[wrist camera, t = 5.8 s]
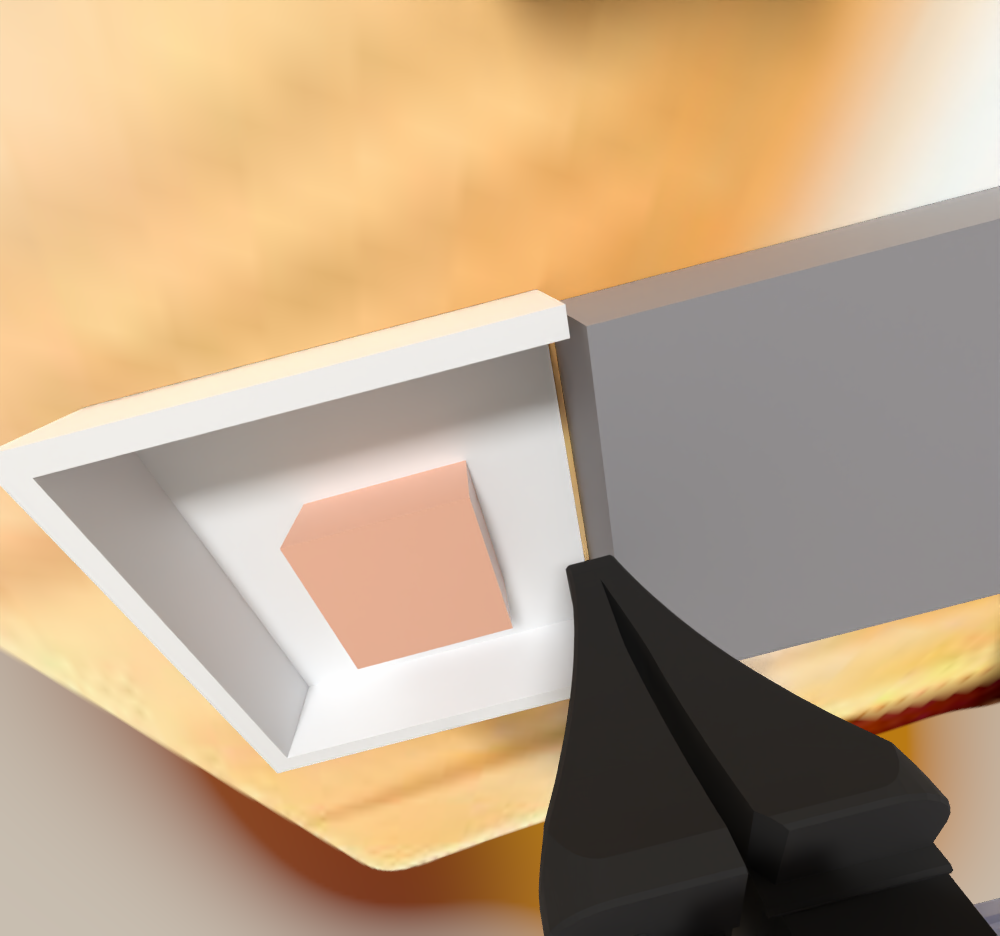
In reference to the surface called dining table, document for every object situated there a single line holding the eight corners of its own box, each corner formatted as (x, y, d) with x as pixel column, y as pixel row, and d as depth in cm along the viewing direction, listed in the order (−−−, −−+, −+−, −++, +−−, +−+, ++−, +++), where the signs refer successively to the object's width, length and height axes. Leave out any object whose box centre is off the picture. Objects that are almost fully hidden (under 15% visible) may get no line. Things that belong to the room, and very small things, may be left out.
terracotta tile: (357, 669, 16) (368, 616, 18) (512, 628, 16) (504, 580, 18) (279, 549, 13) (303, 504, 15) (469, 497, 13) (465, 460, 15)
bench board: (926, 525, 20) (1029, 586, 16) (597, 609, 20) (630, 688, 16) (1047, 173, 13) (1267, 149, 10) (548, 303, 13) (586, 326, 10)
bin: (592, 618, 20) (619, 685, 17) (302, 692, 20) (277, 773, 17) (536, 289, 13) (565, 304, 10) (84, 407, 13) (-26, 458, 10)
